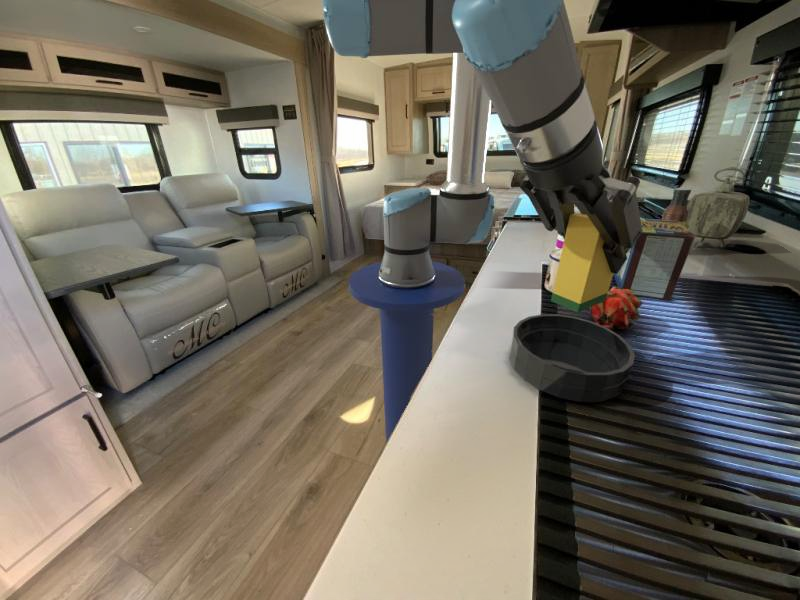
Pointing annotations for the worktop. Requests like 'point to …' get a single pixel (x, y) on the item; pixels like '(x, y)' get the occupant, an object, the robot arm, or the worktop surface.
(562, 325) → the bowl
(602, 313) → the dragon fruit
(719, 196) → the tabletop clock
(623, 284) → the protein box
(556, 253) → the teacup with lid
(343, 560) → the worktop surface
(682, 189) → the sauce bottle
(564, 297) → the sponge
